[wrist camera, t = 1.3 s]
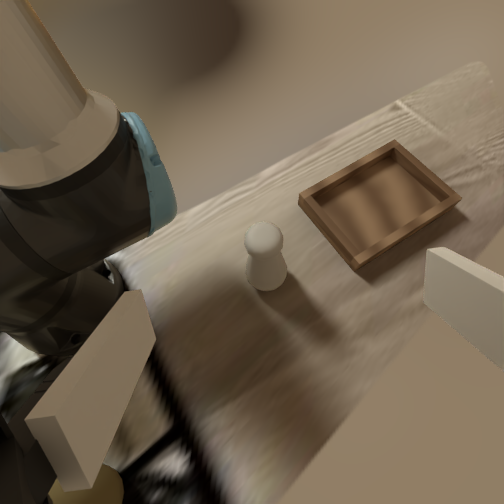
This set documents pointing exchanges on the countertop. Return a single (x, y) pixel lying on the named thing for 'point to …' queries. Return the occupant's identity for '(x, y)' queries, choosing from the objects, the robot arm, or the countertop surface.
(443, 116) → the countertop surface
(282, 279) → the salt shaker
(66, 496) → the squeeze bottle
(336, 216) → the walnut tray
